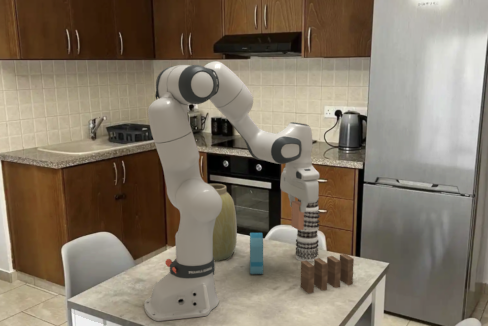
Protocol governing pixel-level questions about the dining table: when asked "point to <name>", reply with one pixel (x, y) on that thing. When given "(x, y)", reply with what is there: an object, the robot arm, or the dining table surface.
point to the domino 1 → (297, 216)
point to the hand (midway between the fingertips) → (297, 209)
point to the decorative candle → (308, 234)
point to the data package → (256, 253)
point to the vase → (224, 226)
